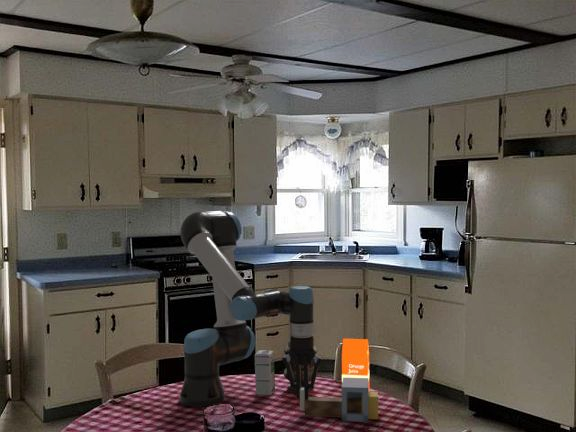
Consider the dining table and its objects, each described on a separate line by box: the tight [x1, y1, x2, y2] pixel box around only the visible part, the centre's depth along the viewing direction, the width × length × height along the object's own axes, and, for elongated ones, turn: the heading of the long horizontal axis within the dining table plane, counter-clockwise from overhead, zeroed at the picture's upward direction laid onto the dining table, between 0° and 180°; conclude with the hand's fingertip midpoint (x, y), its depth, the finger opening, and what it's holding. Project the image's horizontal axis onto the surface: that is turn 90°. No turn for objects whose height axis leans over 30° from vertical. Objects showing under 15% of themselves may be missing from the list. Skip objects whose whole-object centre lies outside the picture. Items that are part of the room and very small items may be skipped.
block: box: [362, 390, 379, 420], centre depth 194 cm, size 5×5×7 cm
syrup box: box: [254, 349, 276, 396], centre depth 218 cm, size 6×6×14 cm
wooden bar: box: [303, 396, 362, 418], centre depth 195 cm, size 18×4×5 cm, turn 81°
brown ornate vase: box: [283, 338, 318, 394], centre depth 221 cm, size 12×12×18 cm
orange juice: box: [341, 338, 370, 392], centre depth 212 cm, size 8×9×20 cm
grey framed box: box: [341, 378, 369, 423], centre depth 194 cm, size 8×10×10 cm
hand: (302, 408), depth 196 cm, fingers closed
